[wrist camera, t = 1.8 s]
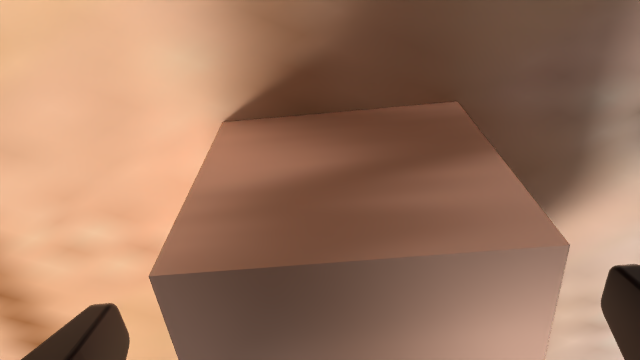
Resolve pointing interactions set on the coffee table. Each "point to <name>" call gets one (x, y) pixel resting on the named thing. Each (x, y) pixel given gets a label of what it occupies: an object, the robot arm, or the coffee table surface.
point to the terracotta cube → (359, 244)
